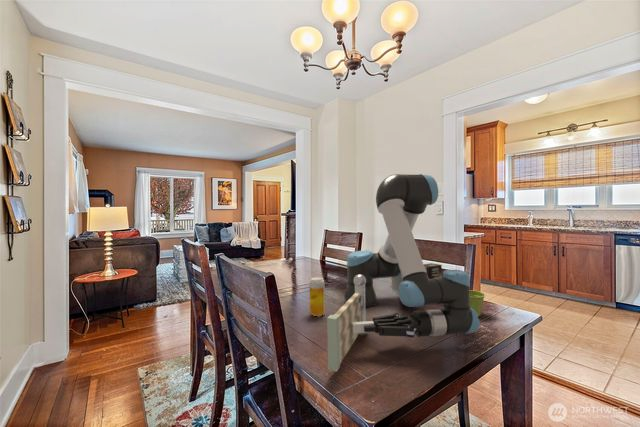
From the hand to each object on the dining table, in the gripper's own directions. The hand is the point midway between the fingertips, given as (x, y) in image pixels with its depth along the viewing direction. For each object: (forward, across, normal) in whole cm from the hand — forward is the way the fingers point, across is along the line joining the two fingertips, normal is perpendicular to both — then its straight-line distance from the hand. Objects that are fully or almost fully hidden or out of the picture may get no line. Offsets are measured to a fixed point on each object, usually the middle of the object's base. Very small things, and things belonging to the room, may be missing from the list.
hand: (352, 327), depth 86 cm
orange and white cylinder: (+7, +33, -8) cm, 34 cm away
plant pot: (-54, +23, -8) cm, 59 cm away
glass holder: (-37, +61, -8) cm, 72 cm away
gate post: (-6, +14, -8) cm, 17 cm away
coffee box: (-48, +45, -8) cm, 66 cm away
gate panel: (+2, 0, -6) cm, 6 cm away
